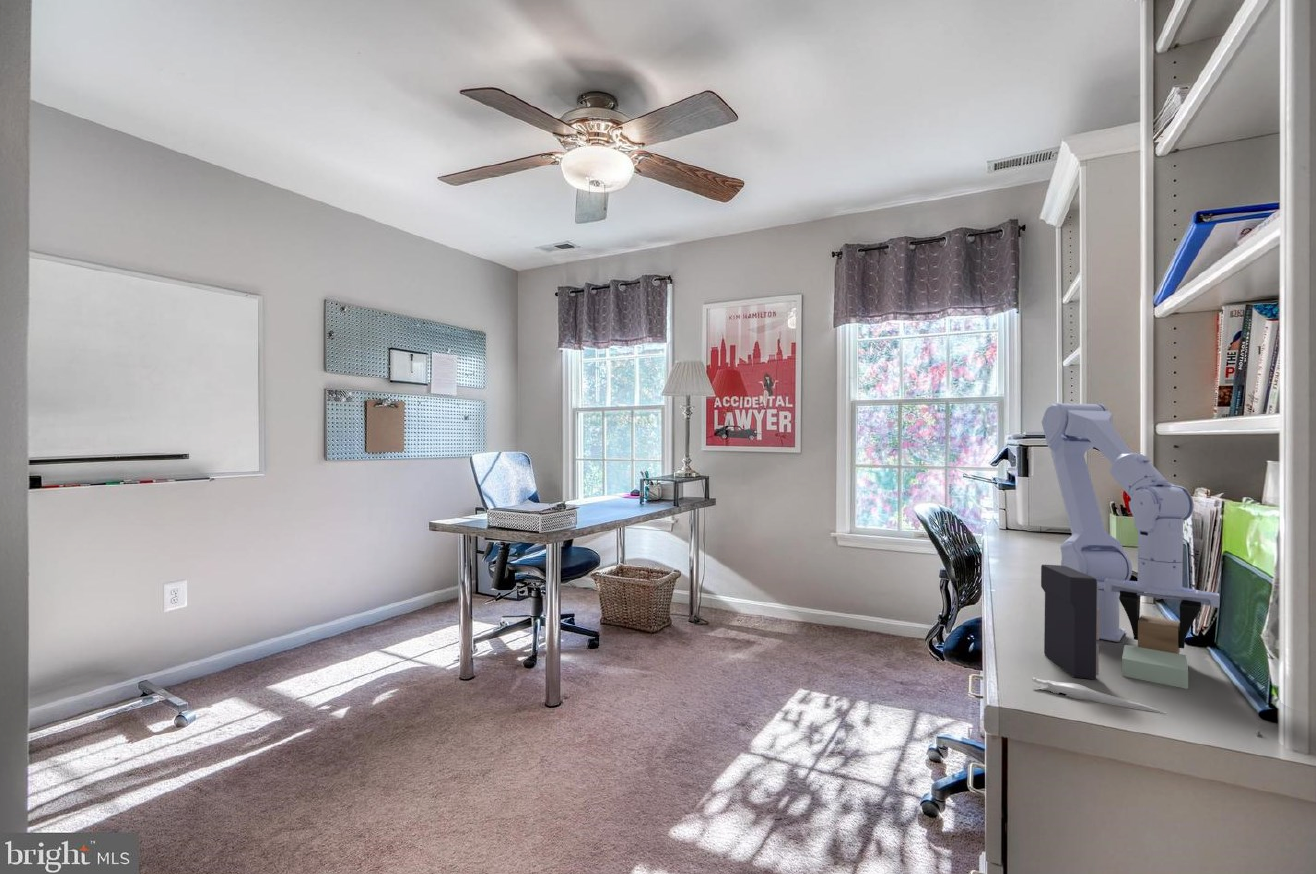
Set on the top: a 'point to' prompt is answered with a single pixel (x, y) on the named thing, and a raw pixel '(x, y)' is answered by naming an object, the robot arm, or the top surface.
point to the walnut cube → (1158, 634)
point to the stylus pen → (1090, 694)
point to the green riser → (1155, 666)
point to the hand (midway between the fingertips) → (1158, 642)
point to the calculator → (1071, 620)
